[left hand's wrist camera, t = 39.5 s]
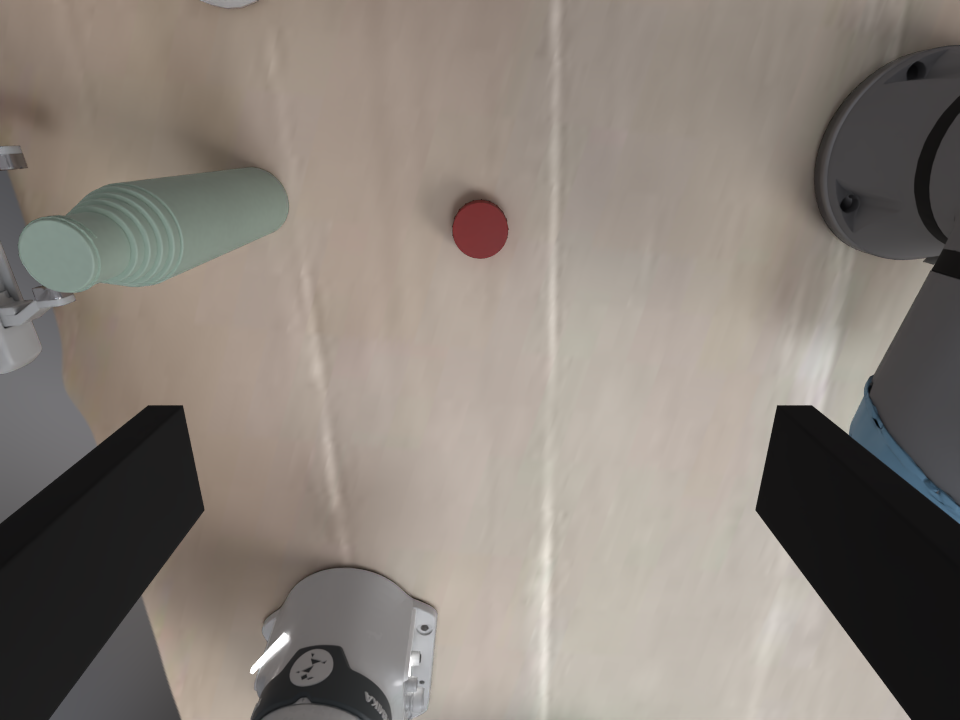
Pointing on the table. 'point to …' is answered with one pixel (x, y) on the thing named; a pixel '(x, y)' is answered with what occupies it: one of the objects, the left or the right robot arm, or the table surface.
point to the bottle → (152, 228)
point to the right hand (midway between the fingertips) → (43, 228)
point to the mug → (230, 3)
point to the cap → (480, 229)
